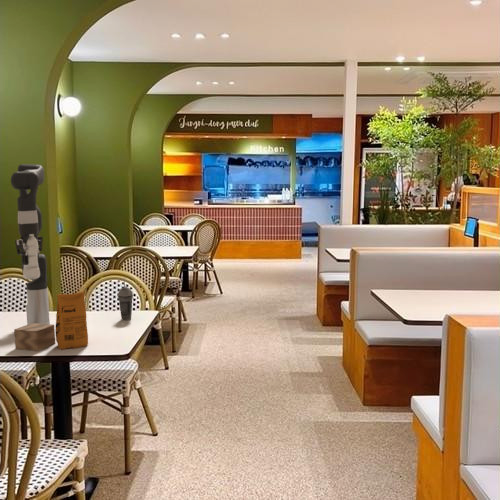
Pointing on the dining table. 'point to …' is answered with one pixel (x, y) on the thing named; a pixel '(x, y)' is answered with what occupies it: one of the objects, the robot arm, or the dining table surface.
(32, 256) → the plastic bottle
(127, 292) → the beverage cup
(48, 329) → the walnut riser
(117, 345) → the dining table surface
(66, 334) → the coffee package
